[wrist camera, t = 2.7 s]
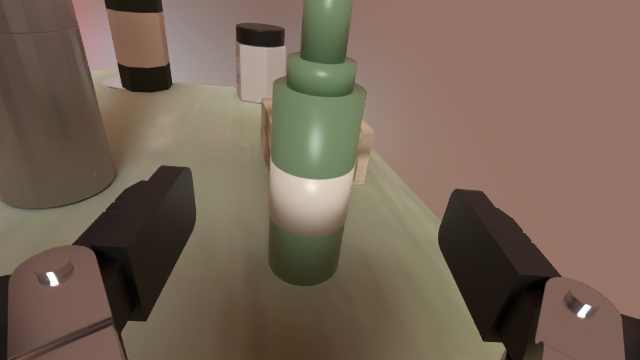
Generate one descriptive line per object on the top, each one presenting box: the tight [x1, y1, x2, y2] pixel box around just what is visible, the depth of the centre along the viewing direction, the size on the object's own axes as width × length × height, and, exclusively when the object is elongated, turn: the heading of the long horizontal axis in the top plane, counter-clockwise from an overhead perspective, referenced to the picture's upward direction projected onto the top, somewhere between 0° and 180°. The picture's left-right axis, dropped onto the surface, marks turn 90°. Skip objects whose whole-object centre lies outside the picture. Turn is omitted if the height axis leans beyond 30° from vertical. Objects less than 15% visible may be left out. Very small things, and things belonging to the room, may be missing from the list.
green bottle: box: [269, 0, 367, 286], centre depth 22 cm, size 6×6×20 cm
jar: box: [235, 23, 286, 104], centre depth 59 cm, size 9×8×12 cm
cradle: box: [261, 98, 374, 185], centre depth 39 cm, size 10×10×7 cm
